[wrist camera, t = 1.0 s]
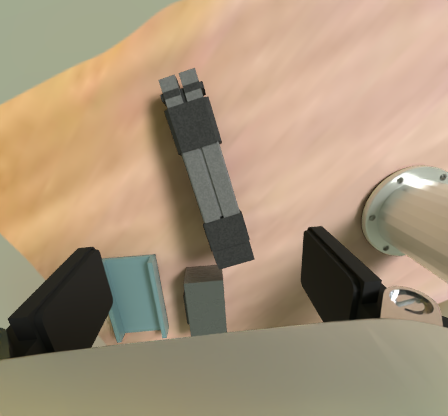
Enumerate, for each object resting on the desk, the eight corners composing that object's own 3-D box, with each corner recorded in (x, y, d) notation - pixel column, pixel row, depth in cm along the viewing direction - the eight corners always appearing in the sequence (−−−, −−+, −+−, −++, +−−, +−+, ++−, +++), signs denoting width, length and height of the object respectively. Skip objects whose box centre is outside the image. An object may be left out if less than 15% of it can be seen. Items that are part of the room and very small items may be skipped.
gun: (220, 255, 32) (214, 280, 22) (178, 117, 32) (153, 79, 22) (251, 246, 32) (259, 266, 22) (209, 107, 32) (198, 63, 22)
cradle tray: (155, 254, 32) (151, 262, 30) (168, 326, 36) (166, 337, 35) (101, 258, 32) (94, 267, 30) (122, 331, 36) (117, 342, 34)
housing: (221, 264, 33) (223, 280, 30) (225, 319, 37) (227, 338, 33) (183, 267, 33) (180, 283, 30) (191, 322, 36) (189, 342, 33)
